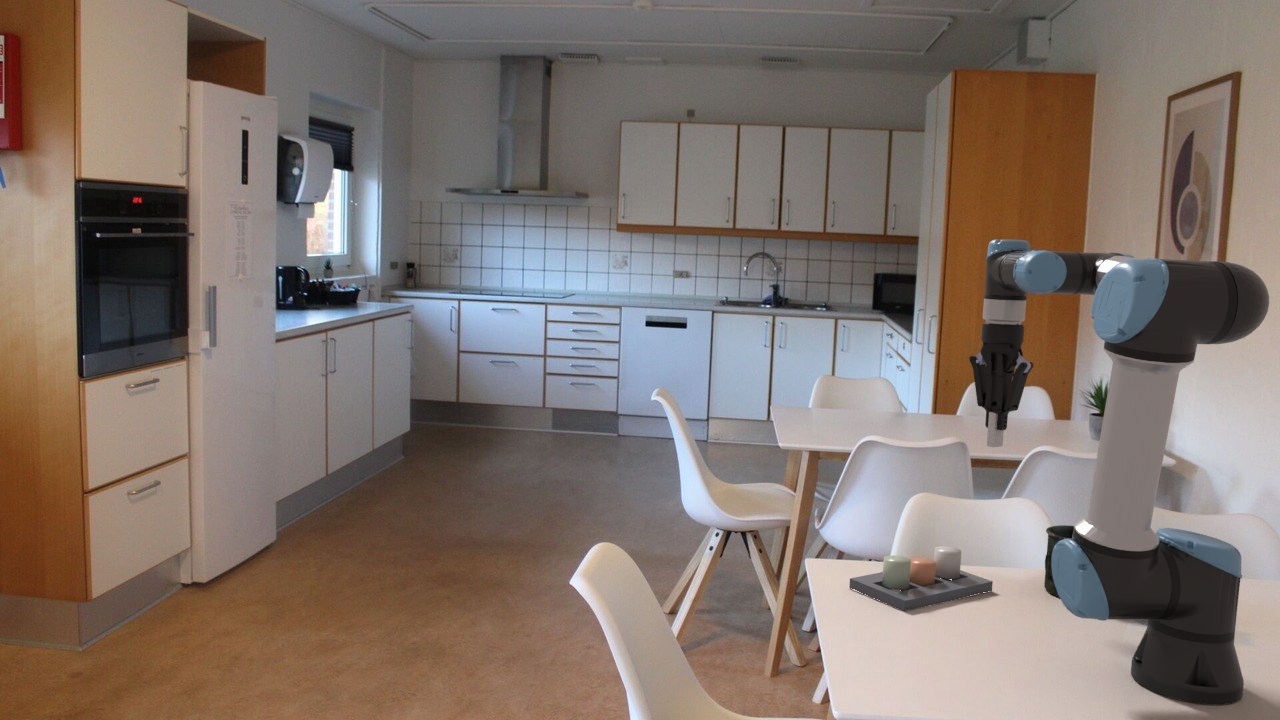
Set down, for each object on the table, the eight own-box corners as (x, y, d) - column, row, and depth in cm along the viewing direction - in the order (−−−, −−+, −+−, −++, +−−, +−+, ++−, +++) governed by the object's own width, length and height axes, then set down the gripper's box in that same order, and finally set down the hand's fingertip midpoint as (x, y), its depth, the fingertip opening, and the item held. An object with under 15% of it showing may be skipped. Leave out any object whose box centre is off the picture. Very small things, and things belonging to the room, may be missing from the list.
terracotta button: (940, 588, 195) (941, 563, 195) (922, 592, 193) (923, 566, 192) (920, 581, 200) (921, 556, 199) (902, 584, 197) (903, 559, 196)
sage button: (915, 587, 191) (916, 561, 191) (896, 591, 189) (897, 564, 188) (895, 579, 196) (896, 554, 195) (876, 583, 193) (878, 557, 192)
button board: (991, 591, 197) (992, 581, 197) (904, 611, 184) (904, 600, 184) (935, 571, 208) (936, 561, 208) (849, 588, 196) (849, 578, 195)
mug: (1114, 596, 196) (1119, 535, 195) (1072, 609, 188) (1077, 546, 187) (1062, 580, 205) (1067, 522, 204) (1019, 593, 197) (1024, 532, 195)
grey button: (965, 576, 199) (966, 551, 198) (947, 580, 196) (949, 555, 196) (945, 569, 203) (946, 544, 203) (927, 572, 200) (929, 548, 200)
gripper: (1046, 324, 188) (1036, 450, 191) (988, 319, 199) (979, 438, 202) (1020, 325, 184) (1010, 453, 187) (962, 319, 195) (954, 441, 197)
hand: (994, 445), depth 194 cm, fingers closed
